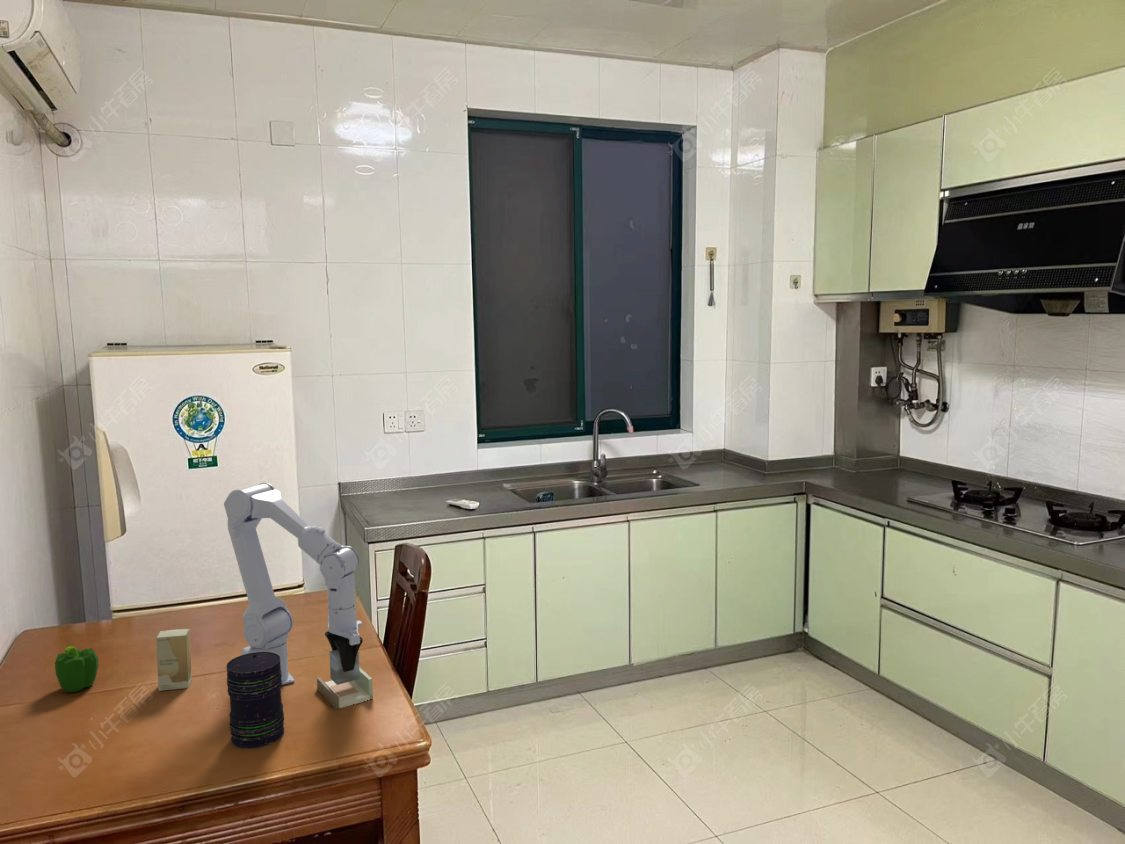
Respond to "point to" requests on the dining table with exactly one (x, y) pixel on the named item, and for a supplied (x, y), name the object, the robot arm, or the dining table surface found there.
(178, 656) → the skincare box
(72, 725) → the dining table surface
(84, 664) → the bell pepper
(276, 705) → the storage jar
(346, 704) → the open-front display tray
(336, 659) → the slate cabinet block
